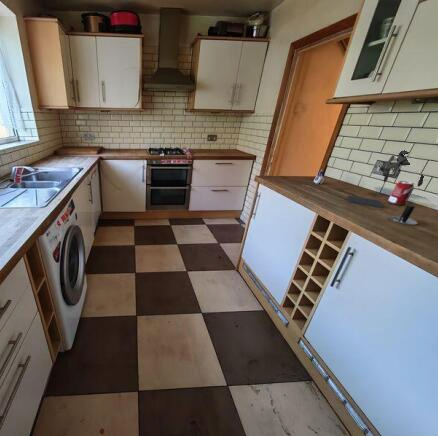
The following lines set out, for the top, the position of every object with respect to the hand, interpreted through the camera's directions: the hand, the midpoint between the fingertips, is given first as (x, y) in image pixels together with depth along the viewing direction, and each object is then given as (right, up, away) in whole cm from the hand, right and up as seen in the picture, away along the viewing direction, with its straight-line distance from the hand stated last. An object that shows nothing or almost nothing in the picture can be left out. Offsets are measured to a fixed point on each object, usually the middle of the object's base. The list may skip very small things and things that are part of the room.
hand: (402, 182), depth 125 cm
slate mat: (-19, -10, +2) cm, 22 cm away
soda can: (-3, -11, +1) cm, 12 cm away
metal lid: (-23, -21, -20) cm, 37 cm away
